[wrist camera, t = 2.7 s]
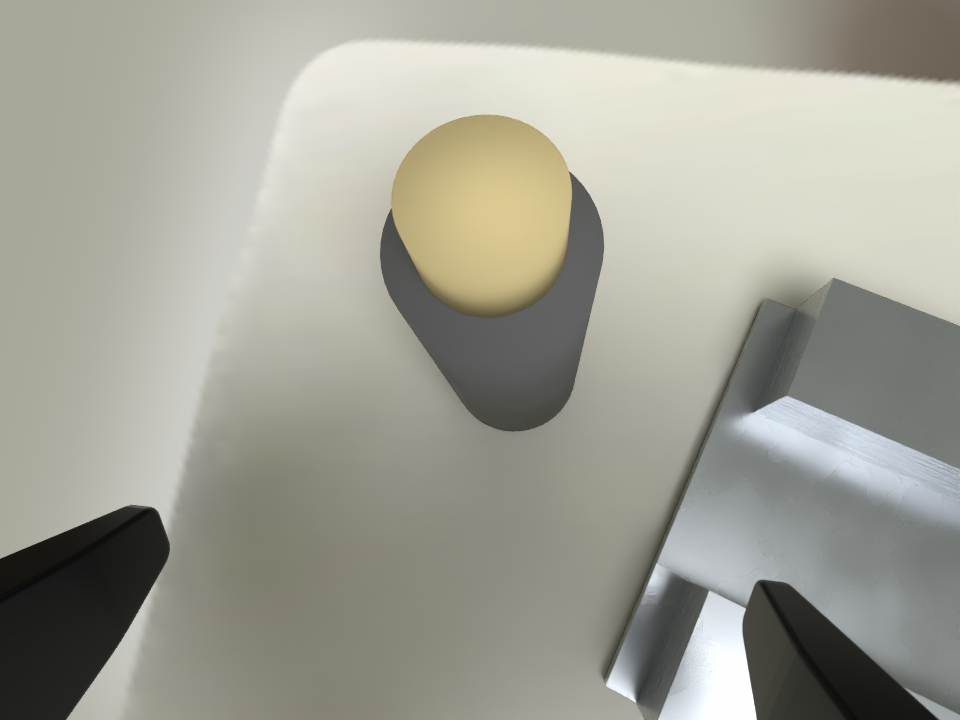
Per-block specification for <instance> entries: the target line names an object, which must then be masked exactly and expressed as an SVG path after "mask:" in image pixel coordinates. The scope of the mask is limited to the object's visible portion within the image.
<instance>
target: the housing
mask: <svg viewBox="0 0 960 720" xmlns="http://www.w3.org/2000/svg"><path fill="white" fill-rule="evenodd" d="M762 579H764V580H772V581H780V582H786V583H788V584H789V585H791V586H792V587H794V588H795V589H796V590H797V591H798V592H799V593H800V594H801V595H802V596H803V597H805V598H806V599H807V600H808V601H809V602H810V603H811V604H812V605H813V606H815V607H816V608H817V609H818V610H819V611H820V612H821V613H822V614H823V615H824V616H826V617H827V618H828V619H829V620H830V621H831V622H832V623H833V624H834V625H835V626H837V627H838V628H839V629H840V630H841V631H842V632H843V633H844V634H845V635H847V636H848V637H849V638H850V639H851V640H852V641H853V642H854V643H855V644H856V645H858V646H859V647H860V648H861V649H862V650H863V651H864V652H865V653H866V654H867V655H869V656H870V657H871V658H872V659H873V660H874V661H875V662H876V663H877V664H879V665H880V666H881V667H882V668H883V669H884V670H885V671H886V672H887V673H888V674H890V675H891V676H892V677H893V678H894V679H895V680H896V681H897V682H898V683H899V684H901V685H902V686H903V687H904V688H905V689H906V690H907V691H908V692H909V693H911V694H912V695H913V696H914V697H915V698H916V699H917V700H918V701H919V702H920V703H922V704H923V705H924V706H925V707H926V708H927V709H928V710H929V711H930V712H931V713H933V714H934V715H935V716H936V717H937V718H938V719H939V720H960V326H958V325H956V324H953V323H950V322H948V321H945V320H943V319H940V318H937V317H935V316H932V315H929V314H927V313H924V312H922V311H919V310H916V309H914V308H911V307H909V306H906V305H903V304H901V303H898V302H896V301H893V300H890V299H888V298H885V297H883V296H880V295H877V294H875V293H872V292H869V291H867V290H864V289H862V288H859V287H856V286H854V285H851V284H849V283H846V282H843V281H841V280H838V279H836V278H833V279H832V280H831V281H829V282H828V283H827V284H826V285H825V286H823V287H822V288H821V289H820V290H818V291H817V292H816V293H815V294H814V295H812V296H811V297H810V298H809V299H808V300H806V301H805V302H804V303H803V304H801V305H800V306H799V307H798V308H797V309H792V308H790V307H787V306H785V305H782V304H780V303H777V302H775V301H772V300H770V299H766V300H765V301H764V302H763V303H762V304H761V306H760V308H759V311H758V313H757V316H756V318H755V320H754V323H753V325H752V328H751V330H750V332H749V335H748V337H747V340H746V342H745V344H744V347H743V349H742V352H741V354H740V356H739V359H738V361H737V364H736V366H735V368H734V371H733V373H732V376H731V378H730V380H729V383H728V385H727V387H726V390H725V392H724V395H723V397H722V399H721V402H720V404H719V407H718V409H717V411H716V414H715V416H714V419H713V421H712V423H711V426H710V428H709V431H708V433H707V435H706V438H705V440H704V443H703V445H702V447H701V450H700V452H699V454H698V457H697V459H696V462H695V464H694V466H693V469H692V471H691V474H690V476H689V478H688V481H687V483H686V486H685V488H684V490H683V493H682V495H681V498H680V500H679V502H678V505H677V507H676V510H675V512H674V514H673V517H672V519H671V522H670V524H669V526H668V529H667V531H666V533H665V536H664V538H663V541H662V543H661V545H660V548H659V550H658V553H657V555H656V557H655V560H654V562H653V565H652V567H651V569H650V572H649V574H648V577H647V579H646V581H645V584H644V586H643V589H642V591H641V593H640V596H639V598H638V600H637V603H636V605H635V608H634V610H633V612H632V615H631V617H630V620H629V622H628V624H627V627H626V629H625V632H624V634H623V636H622V639H621V641H620V644H619V646H618V648H617V651H616V653H615V656H614V658H613V660H612V663H611V665H610V668H609V670H608V672H607V675H606V677H605V679H604V682H605V685H606V686H607V687H609V688H611V689H613V690H615V691H616V692H618V693H620V694H622V695H624V696H626V697H627V698H629V699H631V700H633V701H635V702H636V703H637V705H638V707H639V709H640V711H641V713H642V715H643V717H644V719H645V720H757V719H756V713H755V707H754V701H753V695H752V689H751V683H750V677H749V671H748V665H747V659H746V653H745V647H744V641H743V633H742V622H743V616H744V613H745V610H746V607H747V604H748V602H749V599H750V596H751V593H752V590H753V587H754V585H755V583H756V582H757V581H758V580H762Z"/></svg>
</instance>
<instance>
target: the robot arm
mask: <svg viewBox="0 0 960 720" xmlns="http://www.w3.org/2000/svg"><path fill="white" fill-rule="evenodd" d="M169 551H170V544H169V540H168V537H167V534H166V532H165V529H164V526H163V523H162V521H161V518H160V515H159V513H158V511H157V510H156V509H155V508H152V507H146V506H136V505H130V506H126V507H123V508H121V509H118V510H116V511H114V512H111V513H109V514H106V515H104V516H102V517H99V518H97V519H94V520H92V521H90V522H87V523H85V524H82V525H80V526H78V527H75V528H73V529H71V530H68V531H66V532H63V533H61V534H58V535H56V536H54V537H51V538H49V539H47V540H44V541H42V542H39V543H37V544H35V545H32V546H30V547H27V548H25V549H22V550H20V551H18V552H15V553H13V554H11V555H8V556H6V557H3V558H1V559H0V720H66V719H67V718H68V716H69V715H70V713H71V712H72V711H73V709H74V708H75V706H76V705H77V703H78V702H79V701H80V699H81V698H82V696H83V695H84V694H85V692H86V691H87V689H88V688H89V687H90V685H91V684H92V682H93V681H94V679H95V678H96V677H97V675H98V674H99V672H100V671H101V669H102V668H103V667H104V665H105V664H106V662H107V661H108V660H109V658H110V657H111V655H112V654H113V652H114V651H115V649H116V648H117V646H118V645H119V643H120V642H121V640H122V638H123V637H124V635H125V633H126V632H127V630H128V629H129V627H130V625H131V623H132V622H133V620H134V618H135V616H136V614H137V613H138V611H139V609H140V607H141V606H142V604H143V602H144V600H145V599H146V597H147V595H148V593H149V592H150V590H151V588H152V586H153V585H154V583H155V581H156V579H157V577H158V576H159V574H160V572H161V570H162V569H163V567H164V565H165V563H166V561H167V559H168V556H169ZM742 633H743V641H744V647H745V653H746V659H747V665H748V671H749V677H750V683H751V689H752V695H753V701H754V707H755V713H756V719H757V720H939V719H938V718H937V717H936V716H935V715H934V714H933V713H931V712H930V711H929V710H928V709H927V708H926V707H925V706H924V705H923V704H922V703H920V702H919V701H918V700H917V699H916V698H915V697H914V696H913V695H912V694H911V693H909V692H908V691H907V690H906V689H905V688H904V687H903V686H902V685H901V684H899V683H898V682H897V681H896V680H895V679H894V678H893V677H892V676H891V675H890V674H888V673H887V672H886V671H885V670H884V669H883V668H882V667H881V666H880V665H879V664H877V663H876V662H875V661H874V660H873V659H872V658H871V657H870V656H869V655H867V654H866V653H865V652H864V651H863V650H862V649H861V648H860V647H859V646H858V645H856V644H855V643H854V642H853V641H852V640H851V639H850V638H849V637H848V636H847V635H845V634H844V633H843V632H842V631H841V630H840V629H839V628H838V627H837V626H835V625H834V624H833V623H832V622H831V621H830V620H829V619H828V618H827V617H826V616H824V615H823V614H822V613H821V612H820V611H819V610H818V609H817V608H816V607H815V606H813V605H812V604H811V603H810V602H809V601H808V600H807V599H806V598H805V597H803V596H802V595H801V594H800V593H799V592H798V591H797V590H796V589H795V588H794V587H792V586H791V585H789V584H788V583H786V582H780V581H772V580H764V579H762V580H758V581H757V582H756V583H755V585H754V587H753V590H752V593H751V596H750V599H749V602H748V604H747V607H746V610H745V613H744V616H743V622H742Z"/></svg>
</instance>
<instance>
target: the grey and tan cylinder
mask: <svg viewBox="0 0 960 720" xmlns="http://www.w3.org/2000/svg"><path fill="white" fill-rule="evenodd" d="M391 205H392V208H391V210H390V212H389V214H388V216H387V219H386V222H385V225H384V228H383V233H382V239H381V249H380V259H381V269H382V273H383V278H384V282H385V285H386V287H387V290H388V292H389V295H390V296H391V298H392V300H393V302H394V303H395V305H396V307H397V308H398V310H399V311H400V313H401V314H402V316H403V317H404V318H405V320H406V321H407V323H408V324H409V326H410V327H411V329H412V330H413V331H414V333H415V334H416V336H417V337H418V339H419V340H420V342H421V343H422V344H423V346H424V347H425V349H426V350H427V352H428V353H429V355H430V356H431V357H432V359H433V360H434V362H435V363H436V365H437V366H438V368H439V369H440V370H441V372H442V373H443V375H444V376H445V378H446V379H447V381H448V382H449V383H450V385H451V386H452V388H453V389H454V391H455V392H456V394H457V395H458V396H459V398H460V399H461V401H462V402H463V404H464V405H465V406H466V408H467V409H468V410H469V411H470V412H471V413H472V414H473V415H474V416H475V417H476V418H477V419H479V420H480V421H481V422H483V423H485V424H487V425H489V426H491V427H494V428H496V429H500V430H505V431H523V430H529V429H532V428H536V427H538V426H540V425H543V424H544V423H546V422H548V421H549V420H551V419H552V418H553V417H554V416H556V415H557V414H558V413H559V412H560V411H561V409H562V408H563V407H564V405H565V404H566V402H567V401H568V399H569V397H570V395H571V392H572V390H573V386H574V381H575V377H576V373H577V369H578V364H579V360H580V356H581V352H582V347H583V343H584V339H585V334H586V330H587V326H588V322H589V317H590V313H591V309H592V305H593V300H594V296H595V292H596V288H597V283H598V279H599V275H600V271H601V266H602V262H603V252H604V238H603V230H602V225H601V220H600V217H599V214H598V211H597V208H596V206H595V204H594V202H593V200H592V198H591V197H590V195H589V193H588V192H587V191H586V189H585V188H584V186H583V185H582V184H581V183H580V182H579V181H578V179H577V178H576V177H575V176H574V175H573V174H572V173H570V172H569V171H568V168H567V165H566V163H565V161H564V159H563V157H562V155H561V153H560V152H559V151H558V149H557V148H556V146H555V145H554V144H553V143H552V142H551V141H550V140H549V139H548V138H547V137H546V136H545V135H544V134H542V133H541V132H540V131H538V130H537V129H535V128H534V127H532V126H530V125H528V124H526V123H524V122H521V121H519V120H516V119H512V118H509V117H504V116H498V115H475V116H469V117H463V118H460V119H457V120H453V121H451V122H448V123H446V124H444V125H441V126H440V127H438V128H436V129H434V130H433V131H431V132H430V133H428V134H427V135H426V136H424V137H423V138H422V139H421V140H420V141H419V142H418V143H416V144H415V145H414V147H413V148H412V149H411V150H410V151H409V153H408V154H407V155H406V157H405V158H404V160H403V162H402V163H401V165H400V167H399V169H398V172H397V174H396V177H395V180H394V184H393V190H392V202H391Z"/></svg>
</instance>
